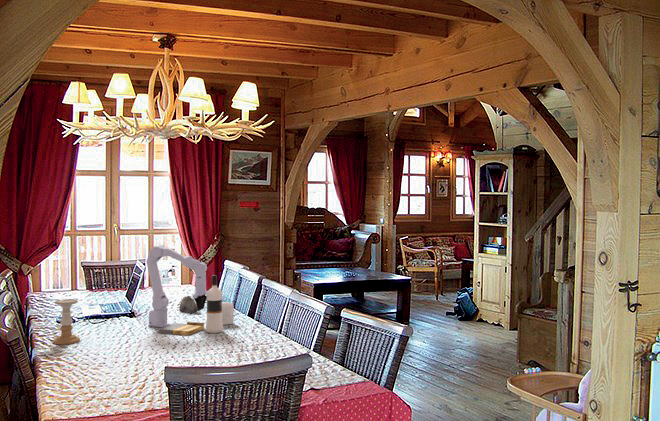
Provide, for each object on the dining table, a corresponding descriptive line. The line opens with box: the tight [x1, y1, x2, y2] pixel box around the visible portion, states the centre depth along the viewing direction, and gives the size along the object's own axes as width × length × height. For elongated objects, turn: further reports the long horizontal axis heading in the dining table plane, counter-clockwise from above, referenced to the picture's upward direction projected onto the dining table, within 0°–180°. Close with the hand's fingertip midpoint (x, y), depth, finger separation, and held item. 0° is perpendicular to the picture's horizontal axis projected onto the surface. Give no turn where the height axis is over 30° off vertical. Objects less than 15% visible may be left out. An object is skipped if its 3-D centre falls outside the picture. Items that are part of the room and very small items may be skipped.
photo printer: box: [222, 301, 235, 326], centre depth 349 cm, size 10×4×12 cm, turn 123°
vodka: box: [205, 274, 224, 334], centre depth 331 cm, size 9×9×30 cm
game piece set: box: [224, 344, 268, 360], centre depth 287 cm, size 19×20×4 cm
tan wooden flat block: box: [172, 321, 205, 336], centre depth 331 cm, size 9×16×3 cm, turn 163°
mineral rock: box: [178, 295, 201, 313], centre depth 384 cm, size 13×11×10 cm
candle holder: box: [52, 298, 81, 346], centre depth 307 cm, size 12×12×20 cm
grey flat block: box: [158, 322, 187, 335], centre depth 334 cm, size 8×16×2 cm, turn 163°
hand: (200, 309), depth 343 cm, fingers closed
